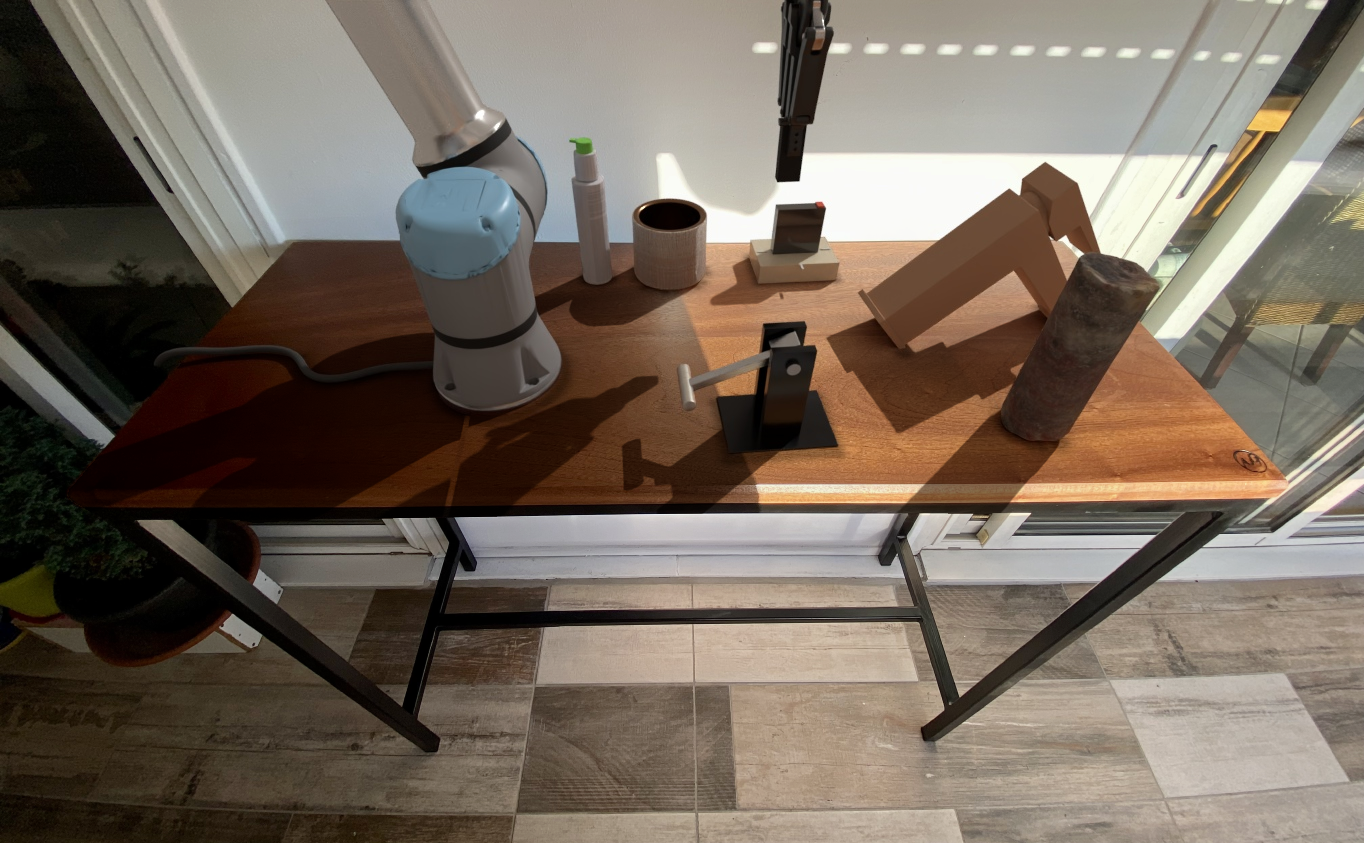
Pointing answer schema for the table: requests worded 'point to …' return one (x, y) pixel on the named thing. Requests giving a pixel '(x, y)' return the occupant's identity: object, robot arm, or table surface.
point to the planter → (669, 243)
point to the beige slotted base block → (792, 263)
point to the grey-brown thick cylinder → (1077, 345)
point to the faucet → (988, 256)
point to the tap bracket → (778, 401)
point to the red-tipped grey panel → (797, 228)
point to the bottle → (591, 214)
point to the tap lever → (726, 371)
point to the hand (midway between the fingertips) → (787, 179)
